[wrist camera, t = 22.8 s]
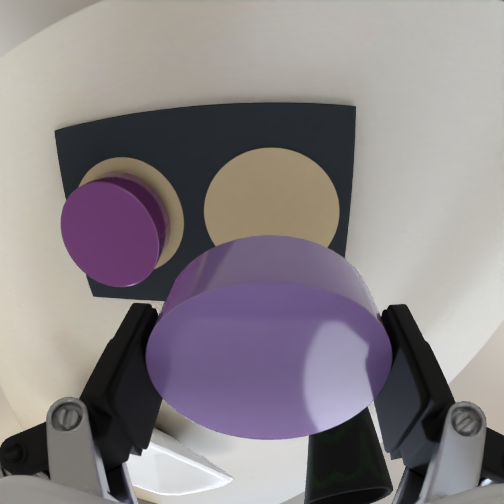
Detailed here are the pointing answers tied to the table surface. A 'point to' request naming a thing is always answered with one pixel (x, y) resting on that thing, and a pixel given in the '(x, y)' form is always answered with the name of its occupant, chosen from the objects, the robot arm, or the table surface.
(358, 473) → the cup
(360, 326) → the lavender short cylinder
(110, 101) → the table surface
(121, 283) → the purple short cylinder
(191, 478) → the bowl
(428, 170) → the table surface
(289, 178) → the placemat
